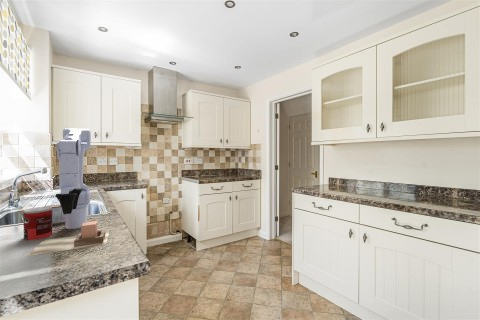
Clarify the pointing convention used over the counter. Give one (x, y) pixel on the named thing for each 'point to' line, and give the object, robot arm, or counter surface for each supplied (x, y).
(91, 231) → the block
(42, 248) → the board
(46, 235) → the canned food
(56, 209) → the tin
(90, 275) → the counter surface
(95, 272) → the counter surface
